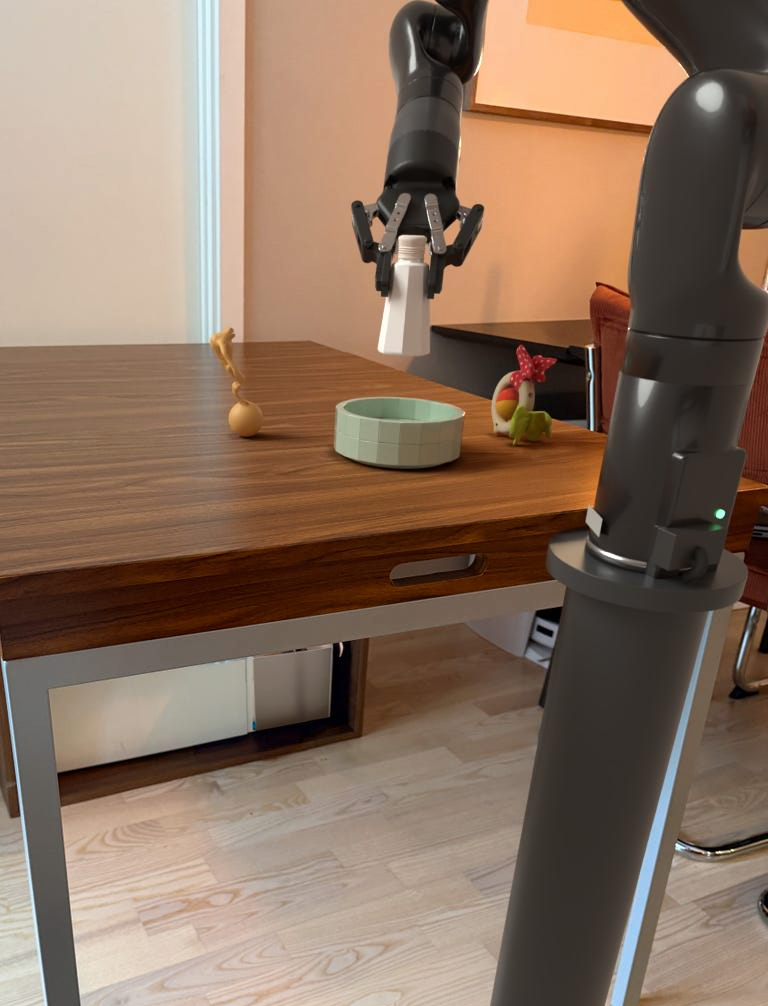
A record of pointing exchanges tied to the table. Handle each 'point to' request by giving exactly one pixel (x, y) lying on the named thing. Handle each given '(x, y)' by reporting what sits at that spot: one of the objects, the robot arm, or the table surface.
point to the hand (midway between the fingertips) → (407, 291)
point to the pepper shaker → (407, 302)
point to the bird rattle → (521, 400)
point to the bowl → (398, 431)
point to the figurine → (236, 387)
